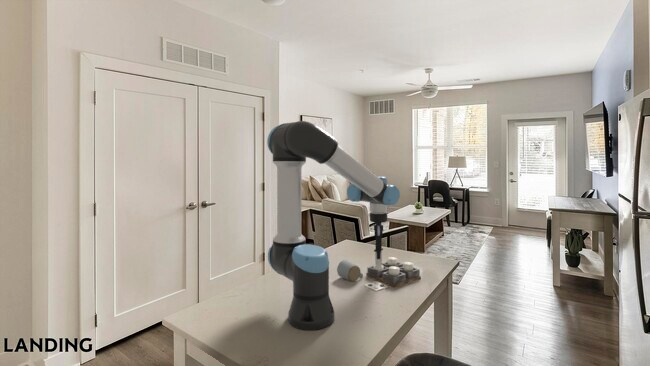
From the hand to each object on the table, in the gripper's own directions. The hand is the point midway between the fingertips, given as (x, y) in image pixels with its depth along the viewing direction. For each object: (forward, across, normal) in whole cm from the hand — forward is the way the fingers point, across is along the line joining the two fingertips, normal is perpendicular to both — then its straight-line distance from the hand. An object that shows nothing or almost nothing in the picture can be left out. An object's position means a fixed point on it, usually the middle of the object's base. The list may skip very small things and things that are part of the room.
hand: (378, 265), depth 146 cm
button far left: (+2, +6, -6) cm, 9 cm away
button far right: (+2, 0, -13) cm, 13 cm away
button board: (+5, 0, -6) cm, 8 cm away
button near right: (+2, -6, -6) cm, 9 cm away
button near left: (+4, 0, 0) cm, 4 cm away
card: (+5, -11, +1) cm, 12 cm away
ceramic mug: (+5, -3, +12) cm, 13 cm away
